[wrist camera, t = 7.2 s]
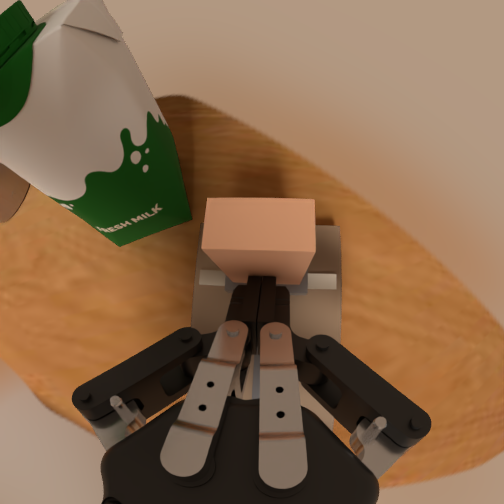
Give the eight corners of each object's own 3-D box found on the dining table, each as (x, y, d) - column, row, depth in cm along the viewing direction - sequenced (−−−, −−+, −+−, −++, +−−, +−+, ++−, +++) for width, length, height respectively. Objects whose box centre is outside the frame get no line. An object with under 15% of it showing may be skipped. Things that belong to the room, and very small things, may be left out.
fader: (305, 295, 17) (330, 266, 9) (227, 292, 18) (186, 261, 10) (306, 250, 18) (326, 188, 10) (231, 248, 19) (196, 186, 10)
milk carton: (112, 260, 21) (-90, 135, 2) (106, 176, 24) (-20, 38, 5) (206, 226, 21) (50, -26, 2) (185, 142, 24) (97, -48, 5)
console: (323, 462, 15) (326, 472, 14) (193, 453, 16) (186, 462, 15) (335, 233, 20) (340, 224, 19) (205, 230, 21) (200, 221, 20)
